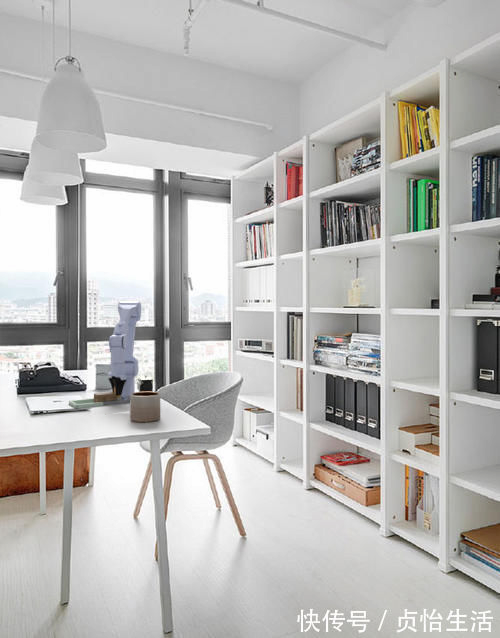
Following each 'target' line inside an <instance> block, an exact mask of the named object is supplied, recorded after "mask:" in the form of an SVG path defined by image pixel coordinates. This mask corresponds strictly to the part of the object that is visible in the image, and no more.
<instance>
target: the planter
mask: <svg viewBox="0 0 500 638" xmlns="http://www.w3.org/2000/svg"><path fill="white" fill-rule="evenodd" d="M129 404H130V408H129V411H130V412H129V419H130V420H131V421H133V422H135V423H143V424H145V423H146V422H147V423H153V422H157V421H159V420H160V419H161V393H160V392H157V391H153V392H150V391H144V392H139V391H136V392H135V393H132V394H131V396H130V403H129Z"/></svg>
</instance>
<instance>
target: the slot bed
mask: <svg viewBox="0 0 500 638" xmlns="http://www.w3.org/2000/svg"><path fill="white" fill-rule="evenodd" d="M121 398H122V399H119V400H109V401H101V402H103V406H112V405H122V404H131V398H128V397H123V396H121ZM103 406H102V407H103Z"/></svg>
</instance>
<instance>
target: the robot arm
mask: <svg viewBox="0 0 500 638" xmlns="http://www.w3.org/2000/svg"><path fill="white" fill-rule="evenodd" d="M117 313H118V315H119V322H117V323H116V324H115V326H114V329H113V333H112V335H110V336H109V339H108V347H109V353H110V363H111V371H109V374H108V375H109V376H112V378H108V379H109V381H110V383H111V386H112V388H111V390H112V391H111V392H114V386H115V392H116V395H117V396H118V395H121V396H123V397H125V398H128V397H130V398H131V394H132V393H135V388H136V387H135V384H136V383H135V382H136V381H135V380H136V379H135V378H136V377H137V376H138V375H139V360H138V359H137V358H136V357H135V356H134V348H135V337H136V336H135V335H136V325H137V324H138V323H137V322H139V321H141V316H142V303H141V302H140V301H122V300H120V301H119V302H118V305H117Z"/></svg>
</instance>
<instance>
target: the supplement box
mask: <svg viewBox="0 0 500 638" xmlns="http://www.w3.org/2000/svg"><path fill="white" fill-rule="evenodd" d="M109 371H111V362H104V361H103V362H97V363H95V388H94V389H102V390H103V389H104V390H110V389H111V390H112V386H111V383H110V381H109V379H108V378H112V376H109V375H108V374H109Z"/></svg>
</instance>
